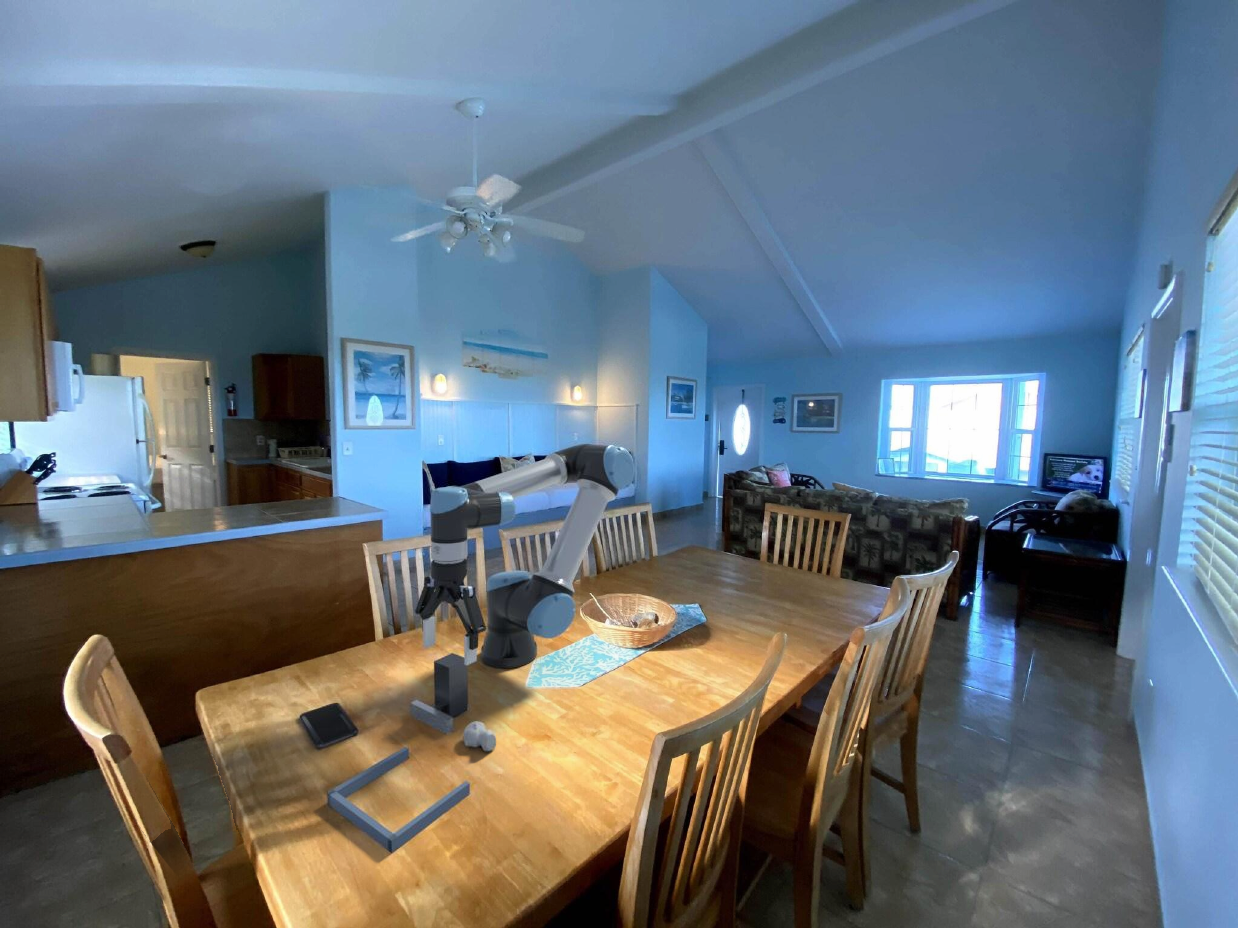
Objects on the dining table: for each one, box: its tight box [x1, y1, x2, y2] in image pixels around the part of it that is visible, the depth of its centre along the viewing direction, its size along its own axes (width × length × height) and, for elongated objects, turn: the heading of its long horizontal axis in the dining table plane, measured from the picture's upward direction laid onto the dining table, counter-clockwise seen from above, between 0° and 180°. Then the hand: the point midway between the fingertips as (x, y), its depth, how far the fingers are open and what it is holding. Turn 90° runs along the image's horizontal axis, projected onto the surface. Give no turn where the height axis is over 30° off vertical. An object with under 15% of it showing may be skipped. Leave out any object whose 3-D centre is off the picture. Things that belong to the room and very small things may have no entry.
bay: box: [326, 746, 471, 854], centre depth 90 cm, size 15×18×2 cm
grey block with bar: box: [410, 652, 469, 735], centre depth 114 cm, size 8×12×12 cm
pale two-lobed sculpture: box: [462, 720, 497, 752], centre depth 105 cm, size 4×8×5 cm
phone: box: [299, 702, 359, 750], centre depth 110 cm, size 8×1×15 cm
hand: (449, 654), depth 115 cm, fingers open, 13 cm apart
